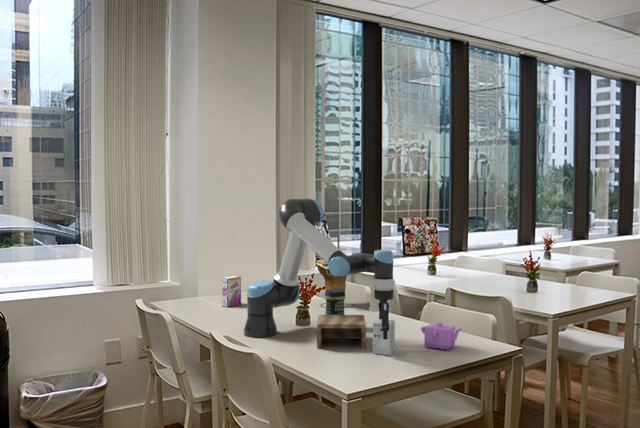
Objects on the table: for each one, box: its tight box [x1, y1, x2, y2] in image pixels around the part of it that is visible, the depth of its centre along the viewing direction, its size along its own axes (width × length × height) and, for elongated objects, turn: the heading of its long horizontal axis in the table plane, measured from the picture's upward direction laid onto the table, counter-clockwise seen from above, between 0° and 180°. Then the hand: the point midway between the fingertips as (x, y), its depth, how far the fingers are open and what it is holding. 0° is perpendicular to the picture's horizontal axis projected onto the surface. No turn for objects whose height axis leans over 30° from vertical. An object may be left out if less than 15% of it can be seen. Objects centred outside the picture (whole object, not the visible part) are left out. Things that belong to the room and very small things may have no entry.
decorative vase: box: [316, 260, 352, 309], centre depth 310 cm, size 21×23×28 cm
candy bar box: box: [221, 275, 242, 307], centre depth 313 cm, size 11×5×16 cm, turn 144°
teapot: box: [420, 322, 463, 351], centre depth 224 cm, size 18×14×10 cm
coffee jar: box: [324, 288, 346, 315], centre depth 261 cm, size 10×8×19 cm
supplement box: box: [372, 318, 396, 356], centre depth 218 cm, size 7×7×13 cm
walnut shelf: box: [316, 314, 367, 350], centre depth 233 cm, size 20×18×10 cm
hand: (383, 342), depth 218 cm, fingers open, 12 cm apart
